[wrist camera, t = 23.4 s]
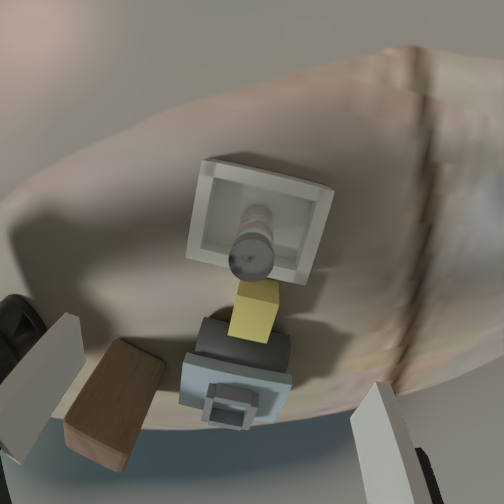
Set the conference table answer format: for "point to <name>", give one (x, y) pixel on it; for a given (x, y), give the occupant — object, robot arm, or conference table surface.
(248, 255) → the pin
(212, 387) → the grey plate on cylinders
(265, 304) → the yellow cube
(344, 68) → the conference table surface
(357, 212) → the conference table surface
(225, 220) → the tray
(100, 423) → the block
